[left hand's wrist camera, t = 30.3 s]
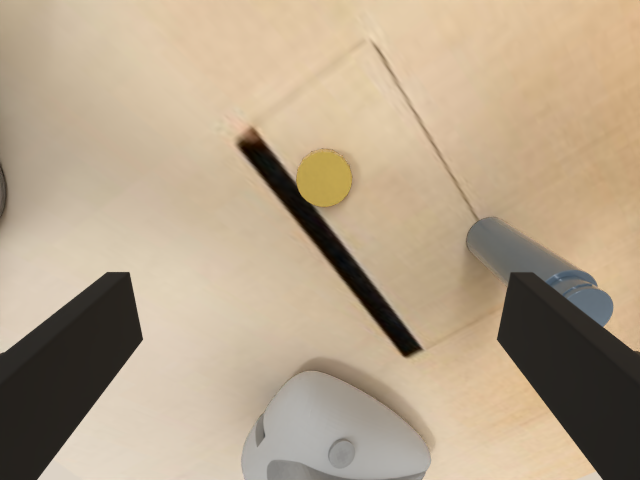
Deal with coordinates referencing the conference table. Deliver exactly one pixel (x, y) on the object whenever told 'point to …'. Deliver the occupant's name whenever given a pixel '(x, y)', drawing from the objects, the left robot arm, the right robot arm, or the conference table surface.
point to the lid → (324, 178)
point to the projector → (331, 436)
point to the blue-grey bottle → (536, 265)
